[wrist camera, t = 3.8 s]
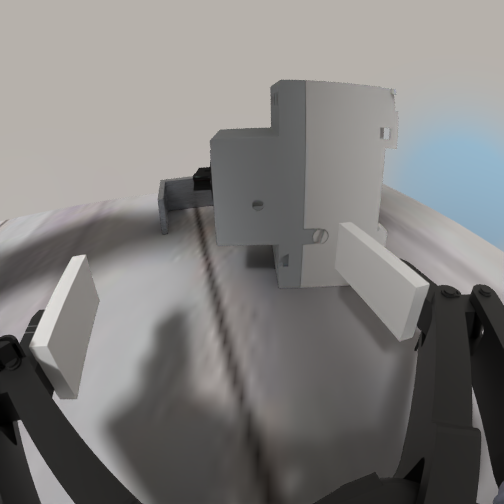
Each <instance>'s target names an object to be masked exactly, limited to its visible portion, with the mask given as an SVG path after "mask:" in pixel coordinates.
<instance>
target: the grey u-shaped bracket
mask: <svg viewBox="0 0 504 504" xmlns="http://www.w3.org/2000/svg"><path fill="white" fill-rule="evenodd" d="M192 177H193V176H192ZM192 177H183V178H176V179H166V180H161V182H160V188H159V194H158V206H159V213H160V221H161V228H162V234H168V211H169V210H177V209H185V208H194V207H202V206H211V205H214V202H213V199H212V193H211V190H200V191H194V190H193V188H194V182H193V178H192Z"/></svg>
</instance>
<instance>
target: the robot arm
mask: <svg viewBox="0 0 504 504" xmlns="http://www.w3.org/2000/svg"><path fill="white" fill-rule="evenodd" d="M335 269H336V270H337V271H338V272H339V273H340V274H341V276H342V277H343V278H344V279H345V280H346V281H347V282H348V283H349V284H350V285H351V287H352V288H353V289H354V290H355V291H356V292H357V293H358V294H359V296H360V297H361V298H362V299H363V300H364V301H365V302H366V303H367V305H368V306H369V307H370V308H371V309H372V310H373V311H374V312H375V314H376V315H377V316H378V317H379V318H380V319H381V321H382V322H383V323H384V324H385V325H386V326H387V327H388V329H389V330H390V331H391V332H392V333H393V334H394V336H395V337H396V338H397V339H398V340H399V341H403V340H406V339H409V338H412V337H413V335H414V332H415V330H416V327H418V328H419V329H420V330H421V334H420V337H419V339H418V342H417V345H416V347H415V350H414V351H417V349H418V357H417V367H416V376H415V384H414V391H413V398H412V405H411V411H410V417H409V422H408V428H407V433H406V438H405V443H404V447H403V452H402V456H401V460H400V464H399V466H398V469H397V471H396V473H395V475H394V477H393V478H380V479H379V477H378V476H377V474H376V472H374V473H372V474H370V475H367V476H365V477H362V478H360V479H357V480H355V481H352V482H350V483H347V484H344V485H343V486H341V487H340V488H338V489H336V490H335V491H333V492H332V493H330V494H329V495H327V496H325V497H324V498H322V499H320V500H319V501H317V502H315V503H313V504H478V503H476V498H477V490H478V481H479V470H480V455H481V432H480V430H479V429H477V428H473V427H472V387H473V390H474V394H475V397H476V401H477V404H478V408H479V412H480V415H481V419H482V423H483V428H484V432H485V436H486V441H487V446H488V450H489V456H490V461H491V466H492V470H493V474H494V477H495V480H496V484H497V486H498V489H499V491H498V495H497V496H496V497H495V498H494V500H493V504H504V305H503V303H502V302H501V300H500V299H499V297H498V295H497V294H496V292H495V291H494V290H493V289H491V288H490V287H489V286H486V285H481V284H479V285H475V286H474V287H473V289H472V292H471V294H470V295H461V293H460V292H459V291H458V290H457V289H455V288H454V287H451V286H448V285H440V286H437V285H436V284H435V283H434V282H432V281H431V280H430V279H429V278H428V277H426V276H425V275H424V274H423V273H422V274H421V272H420V271H419V270H418V269H416V268H415V267H414V266H413V265H412V264H410V263H409V262H407V261H405V260H402V259H399V258H397V257H396V256H395V255H394V254H392V253H391V252H390V251H389V250H387V249H386V248H385V247H384V246H382V245H381V244H380V243H378V242H377V241H376V240H375V239H373V238H372V237H371V236H369V235H368V234H367V233H365V232H364V231H363V230H361V229H360V228H359V227H357V226H356V225H355V224H353V223H352V222H346V223H339V231H338V241H337V251H336V261H335ZM99 302H100V300H99V297H98V294H97V291H96V288H95V284H94V281H93V278H92V274H91V271H90V267H89V263H88V260H87V256H86V255H79V256H73V257H72V258H71V260H70V262H69V264H68V266H67V268H66V269H65V271H64V273H63V275H62V277H61V279H60V281H59V283H58V285H57V287H56V289H55V291H54V293H53V295H52V297H51V299H50V301H49V303H48V305H47V307H46V309H45V310H39V311H38V312H37V313H36V314H35V315H34V316H33V317H32V319H31V321H30V323H29V325H28V327H27V329H26V331H25V334H24V336H23V338H22V340H21V342H20V344H19V342H18V340H17V338H16V337H15V336H13V335H4V336H2V337H0V504H41V502H40V499H39V497H38V494H37V491H36V488H35V485H34V482H33V479H32V476H31V473H30V470H29V466H28V463H27V459H26V456H25V452H24V448H23V444H22V440H21V436H20V432H19V427H18V422H17V420H22V422H23V424H24V426H25V428H26V430H27V432H28V433H29V435H30V437H31V439H32V440H33V442H34V444H35V446H36V447H37V449H38V451H39V452H40V454H41V455H42V457H43V459H44V460H45V462H46V463H47V465H48V466H49V468H50V469H51V471H52V472H53V474H54V475H55V477H56V478H57V480H58V481H59V483H60V484H61V485H62V487H63V488H64V489H65V491H66V492H67V494H68V495H69V496H70V498H71V499H72V500H73V501H74V503H75V504H142V503H141V502H140V501H139V500H138V499H137V498H136V497H135V496H134V495H133V494H132V493H131V492H130V491H129V490H128V489H127V488H126V487H125V486H124V485H123V484H122V483H121V482H120V481H119V480H118V479H117V478H116V477H115V476H114V475H113V474H112V473H111V472H110V471H109V470H108V469H107V467H106V466H105V465H104V464H103V463H102V462H101V461H100V460H99V458H98V457H97V456H96V455H95V454H94V453H93V451H92V450H91V449H90V448H89V447H88V445H87V444H86V443H85V442H84V441H83V439H82V438H81V437H80V436H79V434H78V433H77V432H76V430H75V429H74V428H73V427H72V425H71V424H70V423H69V421H68V420H67V418H66V417H65V416H64V414H63V413H62V412H61V410H60V409H59V407H58V406H57V404H56V403H55V402H54V400H53V399H52V396H53V392H54V390H55V392H56V394H57V395H58V397H59V398H60V399H77V397H78V391H79V386H80V381H81V376H82V371H83V366H84V361H85V357H86V352H87V348H88V344H89V340H90V336H91V332H92V328H93V324H94V320H95V316H96V312H97V309H98V305H99ZM483 329H484V332H483V334H482V331H483Z"/></svg>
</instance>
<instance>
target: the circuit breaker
mask: <svg viewBox="0 0 504 504" xmlns="http://www.w3.org/2000/svg"><path fill="white" fill-rule="evenodd" d="M394 95H396V89H388V88H382V87H377V86H368V85H359V84H350V83H339V82H326V81H309V80H308V81H307V80H306V81H305V80H280V81H278V82H277V83H275V84H274V85H272V86H271V127H270V128H245V129H227V130H219V131H218V133H217V134H216V135H215V136H214V137H213V138H212V139H211V140H210V147H211V150H210V154H211V155H210V156H211V162H210V167H206V168H199V169H198V171H197V172H196V173H195V174H194V175H193V177H192V178H193V182H194V188H193V190H194V191H200V190H211V193H212V199H213V202H214V216H215V229H216V242H217V245H218V246H234V245H272V248H273V254H274V261H275V267H276V274H277V280H278V287H279V288H280V289H283V288H309V287H330V286H349V285H350V284H349V283H348V282H347V281H346V280H345V279H344V278H343V277H342V276H341V274H340V273H339V272H338V271H337V270H336V269H335V261H336V251H337V241H338V231H339V223H346V222H352V223H353V224H355V225H356V226H357V227H359V228H360V229H361V230H363V231H364V232H365V233H367V234H368V235H369V236H371V237H372V238H373V239H375V240H376V241H377V242H378V243H380V244H381V245H382V246H384V247H385V245H386V238H387V232H388V231H387V230H386V229H385V228H384V227H383V226H382V225H381V224H380V223H379V222H378V218H379V210H380V201H381V192H382V182H383V170H384V157H385V148H390V149H397V137H398V112H397V111H395V101H394ZM384 128H390V136H389V140H388V139H383V133H384Z"/></svg>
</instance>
